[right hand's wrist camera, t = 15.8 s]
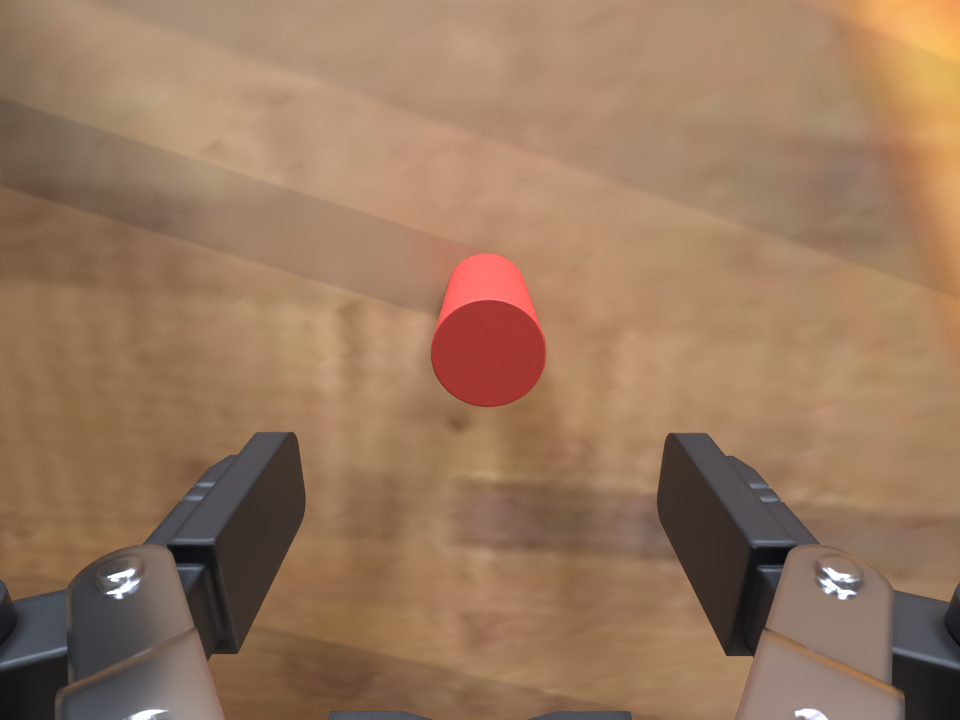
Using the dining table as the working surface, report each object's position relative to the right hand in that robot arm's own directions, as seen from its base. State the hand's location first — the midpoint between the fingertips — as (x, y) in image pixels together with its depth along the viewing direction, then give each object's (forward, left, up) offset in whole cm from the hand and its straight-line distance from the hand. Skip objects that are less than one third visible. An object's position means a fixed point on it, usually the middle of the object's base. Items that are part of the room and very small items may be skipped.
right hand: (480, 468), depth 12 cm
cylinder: (0, 0, -17) cm, 17 cm away
